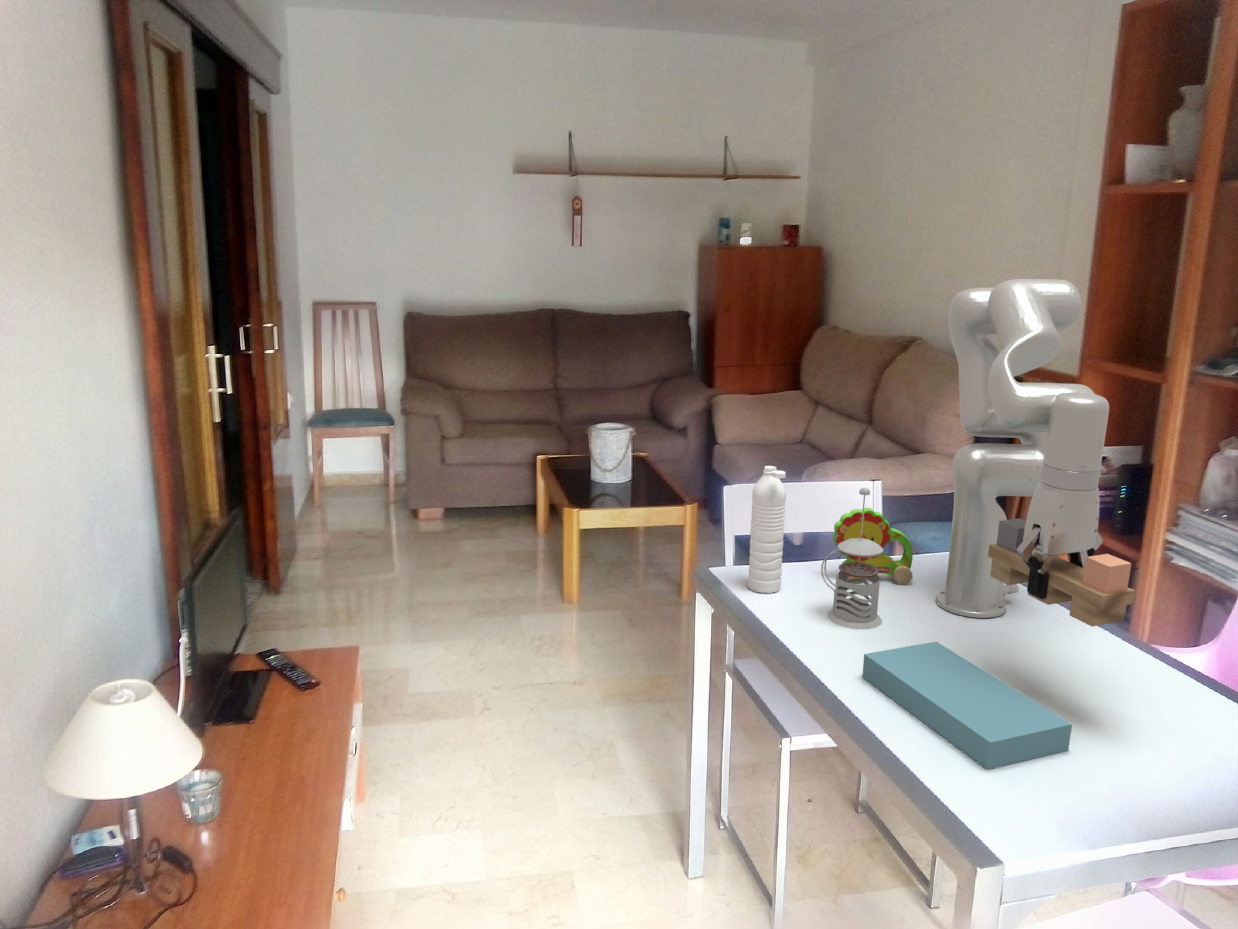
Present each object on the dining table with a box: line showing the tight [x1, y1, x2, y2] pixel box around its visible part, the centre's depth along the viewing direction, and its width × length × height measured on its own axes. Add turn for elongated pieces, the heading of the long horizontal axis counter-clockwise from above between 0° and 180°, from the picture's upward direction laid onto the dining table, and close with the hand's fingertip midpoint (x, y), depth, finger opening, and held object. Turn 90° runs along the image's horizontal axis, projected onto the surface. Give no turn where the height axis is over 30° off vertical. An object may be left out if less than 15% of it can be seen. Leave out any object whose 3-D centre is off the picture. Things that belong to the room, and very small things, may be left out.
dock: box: [861, 641, 1073, 770], centre depth 138 cm, size 14×28×4 cm, turn 21°
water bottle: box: [747, 465, 787, 594], centre depth 181 cm, size 9×6×25 cm
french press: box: [821, 487, 884, 630], centre depth 169 cm, size 10×12×25 cm
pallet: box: [988, 544, 1136, 628], centre depth 140 cm, size 6×22×5 cm, turn 21°
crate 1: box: [997, 518, 1034, 553], centre depth 146 cm, size 4×4×4 cm
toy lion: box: [832, 507, 914, 586], centre depth 189 cm, size 16×5×15 cm, turn 86°
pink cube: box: [1083, 553, 1132, 594], centre depth 131 cm, size 4×4×4 cm
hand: (1053, 591), depth 140 cm, fingers closed on pallet, 6 cm apart
